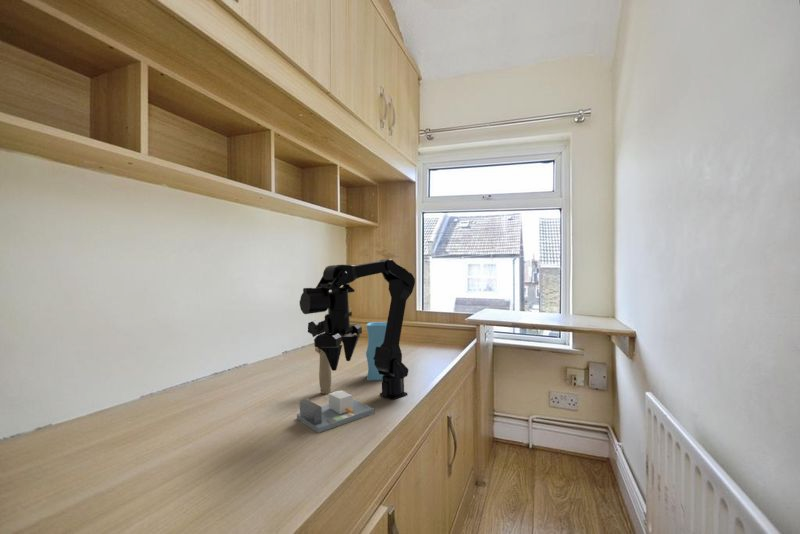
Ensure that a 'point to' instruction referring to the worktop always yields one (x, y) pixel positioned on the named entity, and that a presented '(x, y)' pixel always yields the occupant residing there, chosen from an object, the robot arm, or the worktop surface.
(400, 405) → the worktop surface
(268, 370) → the worktop surface
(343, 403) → the block
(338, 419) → the board
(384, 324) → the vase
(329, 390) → the handle
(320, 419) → the dark grey upright slab
